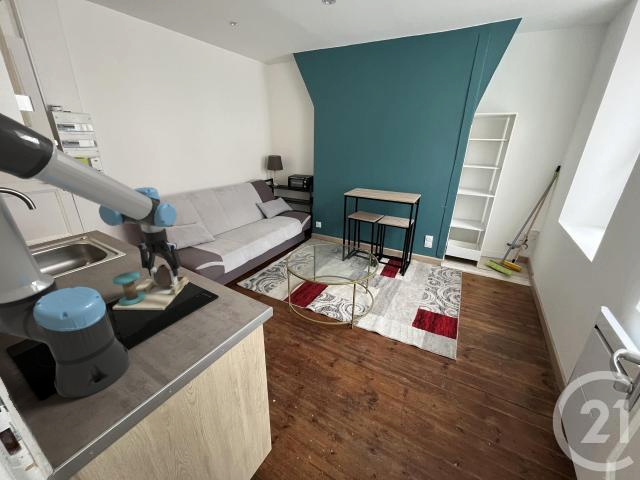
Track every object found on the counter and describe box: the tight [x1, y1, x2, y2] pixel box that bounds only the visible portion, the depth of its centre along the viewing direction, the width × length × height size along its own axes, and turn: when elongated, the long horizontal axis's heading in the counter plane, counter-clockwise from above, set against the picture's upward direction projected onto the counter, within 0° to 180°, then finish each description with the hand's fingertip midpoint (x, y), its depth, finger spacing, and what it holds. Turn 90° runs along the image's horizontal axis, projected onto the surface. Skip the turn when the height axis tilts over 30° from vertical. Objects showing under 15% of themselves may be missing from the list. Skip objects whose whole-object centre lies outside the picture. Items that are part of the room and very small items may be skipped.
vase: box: [155, 263, 172, 287], centre depth 105 cm, size 7×7×9 cm
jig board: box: [112, 271, 189, 311], centre depth 102 cm, size 20×18×11 cm
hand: (165, 282), depth 106 cm, fingers closed on vase, 7 cm apart
